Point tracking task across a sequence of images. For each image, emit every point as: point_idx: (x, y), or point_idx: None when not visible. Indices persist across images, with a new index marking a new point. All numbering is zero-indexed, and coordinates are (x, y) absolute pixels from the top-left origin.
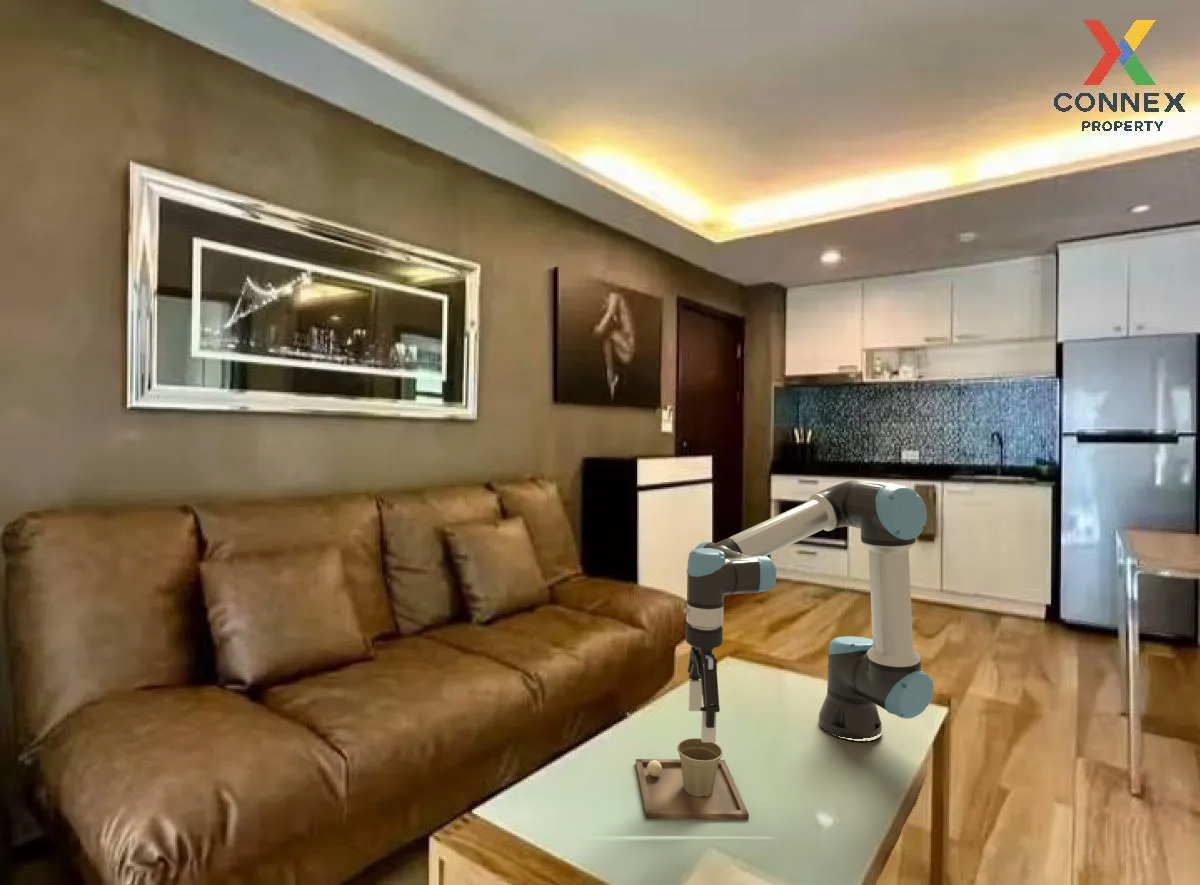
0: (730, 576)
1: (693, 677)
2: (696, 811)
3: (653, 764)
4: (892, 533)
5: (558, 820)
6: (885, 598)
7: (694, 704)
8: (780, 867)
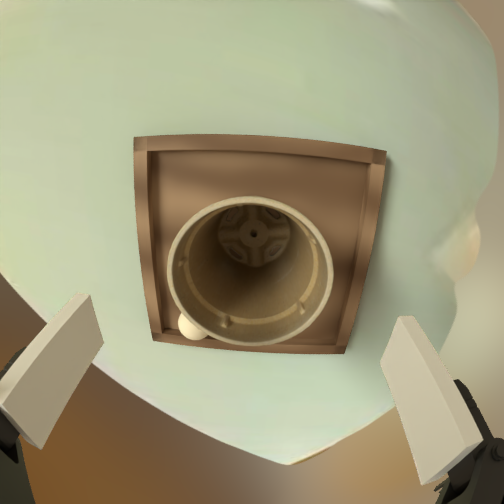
0: None
1: (10, 442)
2: (360, 268)
3: (200, 336)
4: None
5: (311, 426)
6: None
7: (83, 344)
8: (485, 156)
